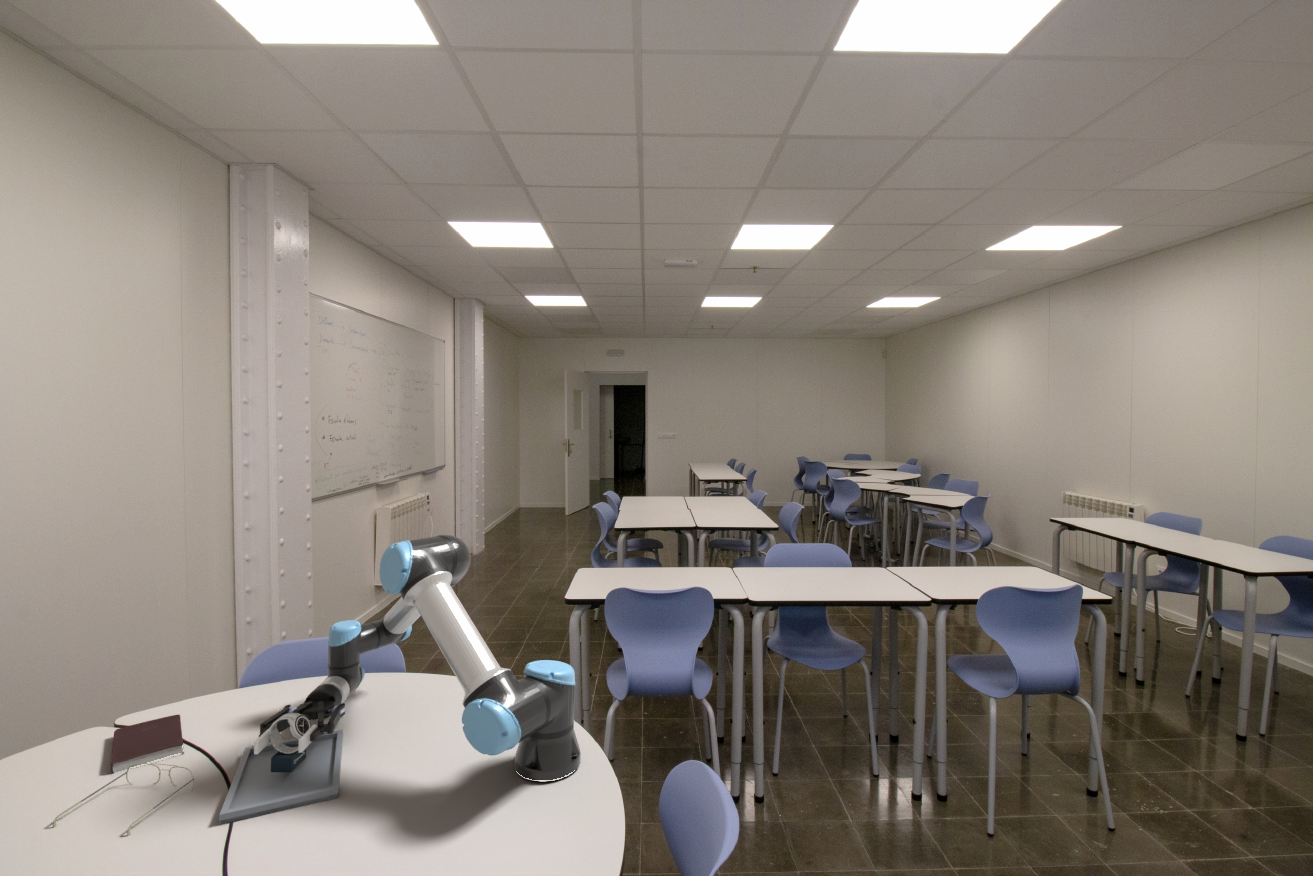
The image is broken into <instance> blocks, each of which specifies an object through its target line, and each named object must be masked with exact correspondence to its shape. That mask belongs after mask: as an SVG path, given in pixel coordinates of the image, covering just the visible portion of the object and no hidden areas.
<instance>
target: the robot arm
mask: <svg viewBox="0 0 1313 876" xmlns="http://www.w3.org/2000/svg"><path fill="white" fill-rule="evenodd" d="M470 552H471V551H470V549H469V546H467V544H466V543H465V541H463V540H462V539H461V538H459V537H457V536H454V535H451V534H439V535H436V536H430V537H429V536H428V537H424V538H423V537H422V538H418V539H412V540H408V539H405V540H404V539H403V541H398V542H394V543H392V544H390V545H389V546H388V547H386V549H385V550H384V551H383V553H382V556H381V558H380V563H379V579H380V583H381V586H382V588H383V590H384V591H385V592H386V593H387V594H390V595H398V594H399V595H400V596H401V597H400V598H399V599H398V600H397V601H396V602H395V604H393V605H392V607H391V608H390V609H389V610H388V612H386V613H385V615H384V616H383V617H382V618H381V619H379V620H374V621H372V622H368V623H364V624H361V623H360V621H358V620H355V619H347V620H341V621H339V622H338V621H337V622H335V623H333V624H332V625H331V626H330V627H329V632H328V638H327V645H328V646H327V648H328V649H327V653H328V656H327V657H328V663H327V677H326V678H325V679H324V680H323V681H322V682H321V683H319V684H318V685H317V686H316V688H314V689H313V690H312V691H311V692H310V693H309V694H308V695H307V697H306V698H305V700H304V702H303V703H301V704H299V705H298V706H297V707H296V706H295V707H292V706H291V704H286V705H285V706H283V708H282V709H281V710H279V711H277V713H275V714H274V715H272V716H270V717H269V718H268V719H266V720H264V721H263V722H261V723H260V724H259V734H258V737H257V738H256V739H255V740H254V742H253V746H254V754H259V753H260V752H261V751H262V750H263V749H264V748H265V747H266V746H267V745H268V744H269V743H271V741H270V738H269V730H270V727H271V725H272V724H273V723H274V722H275V721H276V720H277V719H279V718H280V717H281V716H283V715H285V714H287V713H299V714H301V715H305V716H306V717H308V719H309V720H310V721H317V724H311V728H310V729H309V730H308V731H307V732H306V733H305V734H304V735H303V736H302V737H301V738H300V739H299V748H298V753H302V752H303V751H304V750H305V749H306V748H307V747H308V745H309V744H310V743H311V742H312V741H315V740H317V739H318V738H319V736H320V735H323V734H324V733H328V734H331V733H333V732H334V731H336V730H335V729H336V728H337V725H338V723H339V722H340V720H341V718H342V717H344V716H345V714H346V703H345V701H346V700H347V699H348V698H349V697H350V696H351V695H352V693H353V692H355V691H356V690H357V689H358V688H359V687H360V685H361V683H362V682H363V680H364V678H365V674H366V671H365V668H364V667H363V665H362V663H361V662H360V660H361V655H363V654H364V653H368V652H372V651H375V650H378V649H381V648H384V647H388V646H390V645H395V644H398V643H400V642H402V641H405V640H406V639H408V638H410V635H411V634H412V633H411V632H412V631H413V629H412V628H413V624H414V623H415V622H416V621H417V620H418V619H419V618H420V617H422V620H423V621H424V623H425V625H426V627H427V629H428V630H429V632H430V634H431V636H432V637H433V639H434V641H435V642H436V644H437V646H438V648H439V649H440V652H441V653H442V655H443V657H444V659H445V660H446V662H447V663H448V666H449V667H450V669H451V671H452V672H453V674H454V675H455V678H456V680H457V681H458V683H459V685H460V686H461V688H462V689H463V691H464V696H463V699H462V706H463V707H464V709H463V712H462V713H461V724H462V725H463V726H462V731H463V733H464V736H465V738H466V740H467V741H468V743H469V744H470V746H471V747H472V748H473V749H474V750H476V751H477V752H478V753H480V754H482V755H487V756H490V757H492V756H498V755H500V754H502V753H504V752H506V751H509V750H512V749H514V748H515V747H516V746H517V745H518V746H517V748H516V751H515V754H514V755H515V756H514V766H515V767H514V770H515V769H516V771H517V772H518V773H519V774H520V775H522V776H523V777H525V778H529V779H532V780H553V779H557V778H561V777H564V776H565V775H568V774H569V773H571V772H573V771H574V770H576V769H577V768H578V766H579V764H580V765H581V756H582V755H581V754H582V753H581V748H580V744H579V741H578V738H577V735H576V731H575V726H574V725H575V702H576V701H575V700H576V699H575V696H576V684H577V683H576V680H575V679H576V676H575V675H576V674H575V673H576V672H575V669H574V668H573V666H571V665H570V664H569V663H566V662H562V661H559V660H551V659H544V660H543V659H540V660H534V661H531V662H528V663H527V664H525V667H524V670H523V675H524V676H523V677H522V678H520V679H517V677H516V676H515V673H513V671H512V670H511V669H510V668H506V667H505V668H504V667H501V665H500V664H499V663H498V661H497V659H496V658H495V656H494V654H493V653H492V651H491V649H490V648H489V646H488V644H487V643H486V642H485V640H484V638H483V636H482V635H481V634H480V631H479V630H478V628H477V627H476V625H475V624H474V621H473V620H472V619H471V617H470V615H469V614H468V612H467V610H466V608H465V607H464V606H463V605H464V604H462V602H461V601H460V599H459V598H458V596H457V595H456V592H455V591H454V589H453V587H454V586H456V585H457V584H458V583H459V582H460V581H461V580H462V579H463V578H464V577H465V575H466V574H467V572H468V571H469V568H470V566H471V560H472V559H471V558H472V557H471V553H470ZM328 718H329V719H328ZM326 719H328V721H327V723H325V720H326ZM287 729H290V724H289V723H288V719H282V720H279V721H278V723H277V730H278V731H279V734H280V733H281V732H284V731H286V730H287ZM579 767H580V766H579ZM578 769H579V768H578ZM578 769H577V770H578ZM577 770H576V771H577ZM516 771H515V772H516Z"/></svg>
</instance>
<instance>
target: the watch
mask: <svg viewBox="0 0 1313 876" xmlns="http://www.w3.org/2000/svg"><path fill="white" fill-rule="evenodd" d="M282 719H288V723H289V724H290V727H289V729H290V733H291V736H292V737H294V739H295V738H297V739H298V740H299V739H300V738H301V737H302V736H303V735H304V734H305V733H306V732H307V731H308V730H309V729H310V728H311V727H312V723H311V720H309V719H308V717H306V716H305V715H301V714H299V713H287V714H285V715H283V716H281V717H280V718H279V719H277V720H276V721H275V722H274V723H273V724H272V725H271V727H270V730H269V738H270V741H271V742H270V743H272V745H273V747H274V748H275V750H278V752H277V753H276V754H275V755H274V756H273V757H272V758H271V772H292V771H293V770H294V769H295V768H296V767H297V766H298V765H299V764H300V763H301V762H302V761H303V760H305V759H306V749H305V750H304V751H303V752H302V753H298V748H299V744H286V745H284V744H283V743H284V741H285V740H283V738H282V736H281V735H280V733H279V731H278V730H277V723H278V721H279V720H282ZM281 746H282V747H281Z"/></svg>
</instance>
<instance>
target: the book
mask: <svg viewBox="0 0 1313 876" xmlns="http://www.w3.org/2000/svg"><path fill="white" fill-rule="evenodd" d="M181 721H182V720H181V714H174V715H168V716H165V717H159V718H155V719H151V720H147V721H142V722H139V723H136V724H135V723H134V724H131V725H128V726H124V727H123V726H122V727H120V728H118V729H115V730H114V733H113V742H112V750H111V751H112V752H111V759H110V773H111V775H113V774H116V773H118V772H119V771H120V772H123V771H126V770H125V769H127V770H128V768H129V767H130V766H132V765H134V764H138V763H147V762H151V761H154V760H157V759H161V758H164V757H167V756H170V755H174V754H178V753H184V754H185V751H184V752H183V749H184V747H183V748H182V745H183V746H184V741H183V739H184V738H183V732H182V731H183V730H182V722H181ZM138 765H141V764H138ZM134 766H137V765H134ZM134 766H132V767H134ZM122 770H123V771H122ZM115 772H116V773H115Z"/></svg>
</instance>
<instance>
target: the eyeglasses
mask: <svg viewBox="0 0 1313 876" xmlns="http://www.w3.org/2000/svg"><path fill="white" fill-rule="evenodd" d="M138 764H147V763H138ZM138 764H134V765H138ZM134 765H132V766H134ZM147 765H150V766H153V767H156V768H157V769H158V772H159V773H158V779H157V782H154V783H153V785H156V784H158V783H159V782H160V778H161V775H162V774H161V771H165V769H163V768H161V769H160V767H159V765H161V766H162V765H163V766H167V764H165V763H164V764H163V763H158V765H157V764H156V762H155V763H151V764H147ZM147 765H146V766H147ZM132 766H130V767H132ZM168 766H170V769H166V771H168V775H167V776H168V778H169V780H170V783H171V784H172V785H173V786H174V787H178V785H177V784H175V783H174V782H173V780H172V777H171V770H172V769H173V768H180V769H185V770H187V771H189V773H190V774H191V776H192V778H191V780H189V781H188V782H186V783H185V784H184V785H182V786H181V787H179V788H178V789H177V790H175V791H174V792H173V793H172V794H170V795H168V796H167V797H166V798H164V799H163V800H162V801H160V802H159V803H158V804H156V805H155V806H154V807H152V808H150V809H149V810H148V811H146V812H145V813H144V814H142V815H141V816H140V817H138V818H137V819H135V820H134V821H133V822H132V823H131V824H130V825H129V826H128V828H127V832H126V836H127V837H129V836H131V835H132V834H131V829H132V827H133V825H134V824H136V823H138V822H139V821H140V820H142V819H143V818H144V817H145V816H147V815H148V814H150V813H151V812H152V811H153V810H155V809H156V808H157V807H159V806H160V805H162V804H163V803H165V801H167V800H169V798H171V797H173V796H174V795H175V794H176V793H178V792H179V791H180V790H182V789H183V788H185V787H186V786H187V785H188V784H190V783H192V782H193V787H192V788H191V791H193V790H194V789H195V777H194V775H193V772H192V771H191V769H189V768H188V767H184V766H179V765H175V764H174V765H173V764H168ZM171 766H172V767H171ZM130 767H129V768H130ZM129 768H128V769H127V770H126V771H125V772H124V773H122V774H120V775H119V776H117V777H116V778H114V779H113V780H110V781H109V782H108V783H107V784H105V785H104V786H101V787H100V788H99V789H97V790H96V791H94V792H92V793H90V794H89V795H88V796H86V797H85V798H83V799H81V800H80V801H78V802H77V803H74V804H73V805H72V806H70V807H68V808H67V809H65V810H63V812H61V813H59V814H58V815H57V816H56V817H55V818H54V819H53V823H52V829H55V828H56V827H57V820H58V819H59V818H60V817H62V816H63V815H64V814H66V813H68V812H69V811H70V810H72V809H73V808H75V807H76V806H78V805H80V804H81V803H82V802H84V801H86V800H87V799H89V798H91V797H92V796H93V795H95V794H96V793H98V792H99V791H101V790H103V789H105V788H106V787H108V786H109V785H111V784H112V783H114V782H116V781H117V780H119V779H120V778H121V777H123V776H124V775H125V778H126V782H127V783H128V784H129V785H133V783H132V782H130V781H129V777H128V774H129V773H128V772H129V770H130V769H131V768H130V769H129Z"/></svg>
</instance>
